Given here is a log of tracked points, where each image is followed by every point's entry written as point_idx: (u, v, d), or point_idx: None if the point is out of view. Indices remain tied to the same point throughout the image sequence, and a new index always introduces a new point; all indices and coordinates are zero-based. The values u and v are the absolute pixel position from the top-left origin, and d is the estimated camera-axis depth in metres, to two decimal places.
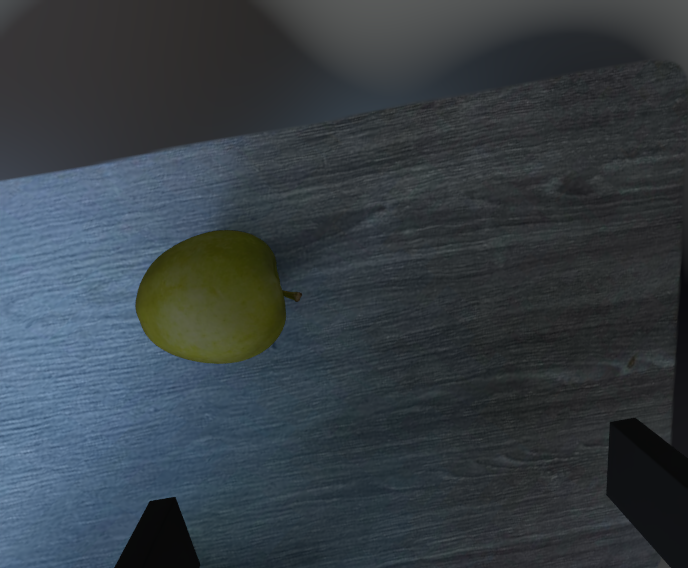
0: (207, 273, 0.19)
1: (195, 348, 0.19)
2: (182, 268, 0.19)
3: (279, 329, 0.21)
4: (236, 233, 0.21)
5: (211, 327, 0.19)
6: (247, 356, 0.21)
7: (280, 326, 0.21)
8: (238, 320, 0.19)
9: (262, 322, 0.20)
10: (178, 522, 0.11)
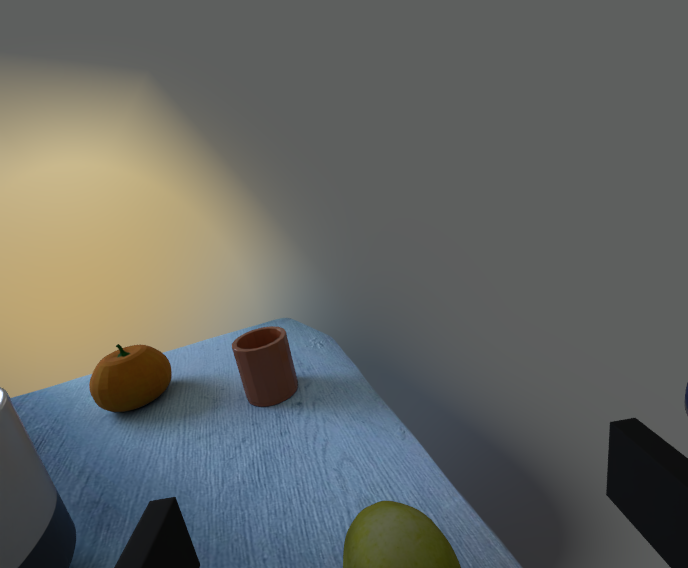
0: (429, 533, 0.24)
1: (367, 533, 0.24)
2: (425, 518, 0.25)
3: None
4: None
5: (389, 538, 0.23)
6: None
7: None
8: (400, 560, 0.22)
9: None
10: (178, 522, 0.11)
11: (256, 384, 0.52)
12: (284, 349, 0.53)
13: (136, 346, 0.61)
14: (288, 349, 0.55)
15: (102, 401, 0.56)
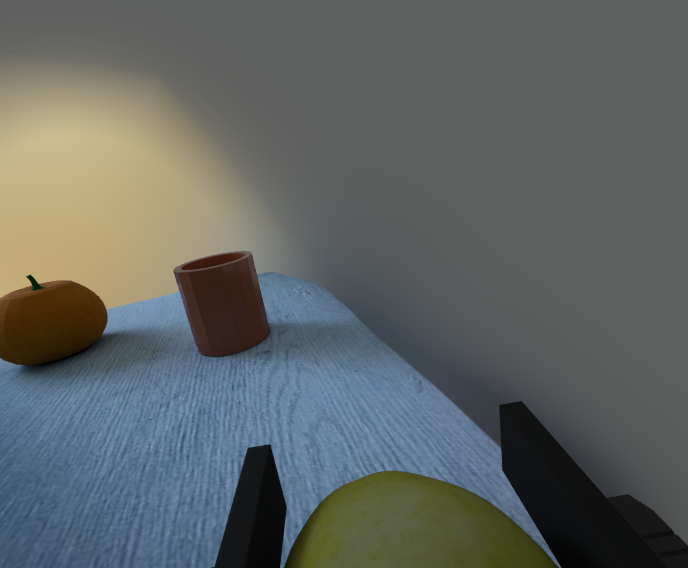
0: (523, 555, 0.08)
1: (334, 550, 0.08)
2: (498, 512, 0.09)
3: None
4: None
5: None
6: None
7: None
8: None
9: None
10: (273, 466, 0.12)
11: (206, 322, 0.36)
12: (248, 275, 0.38)
13: (58, 281, 0.46)
14: (255, 278, 0.39)
15: None
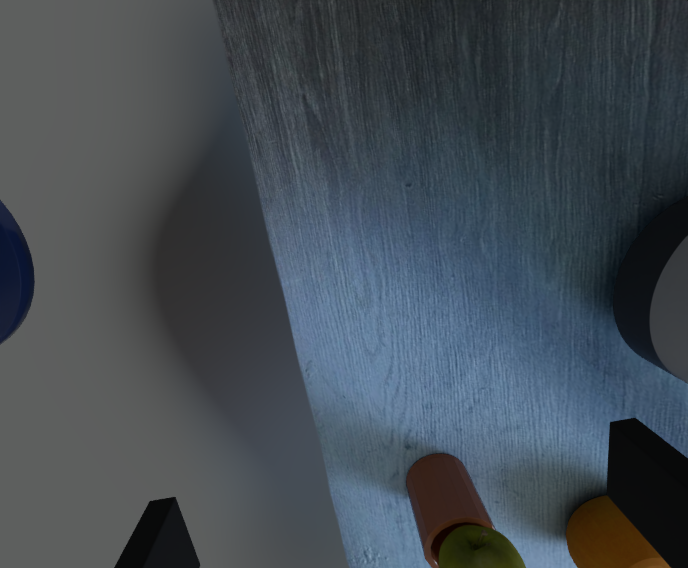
0: None
1: None
2: None
3: (509, 554, 0.33)
4: None
5: None
6: None
7: (507, 554, 0.33)
8: None
9: None
10: (178, 522, 0.11)
11: (460, 477, 0.42)
12: (426, 518, 0.39)
13: None
14: (419, 521, 0.40)
15: None
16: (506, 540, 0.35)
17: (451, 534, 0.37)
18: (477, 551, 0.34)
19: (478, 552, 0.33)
